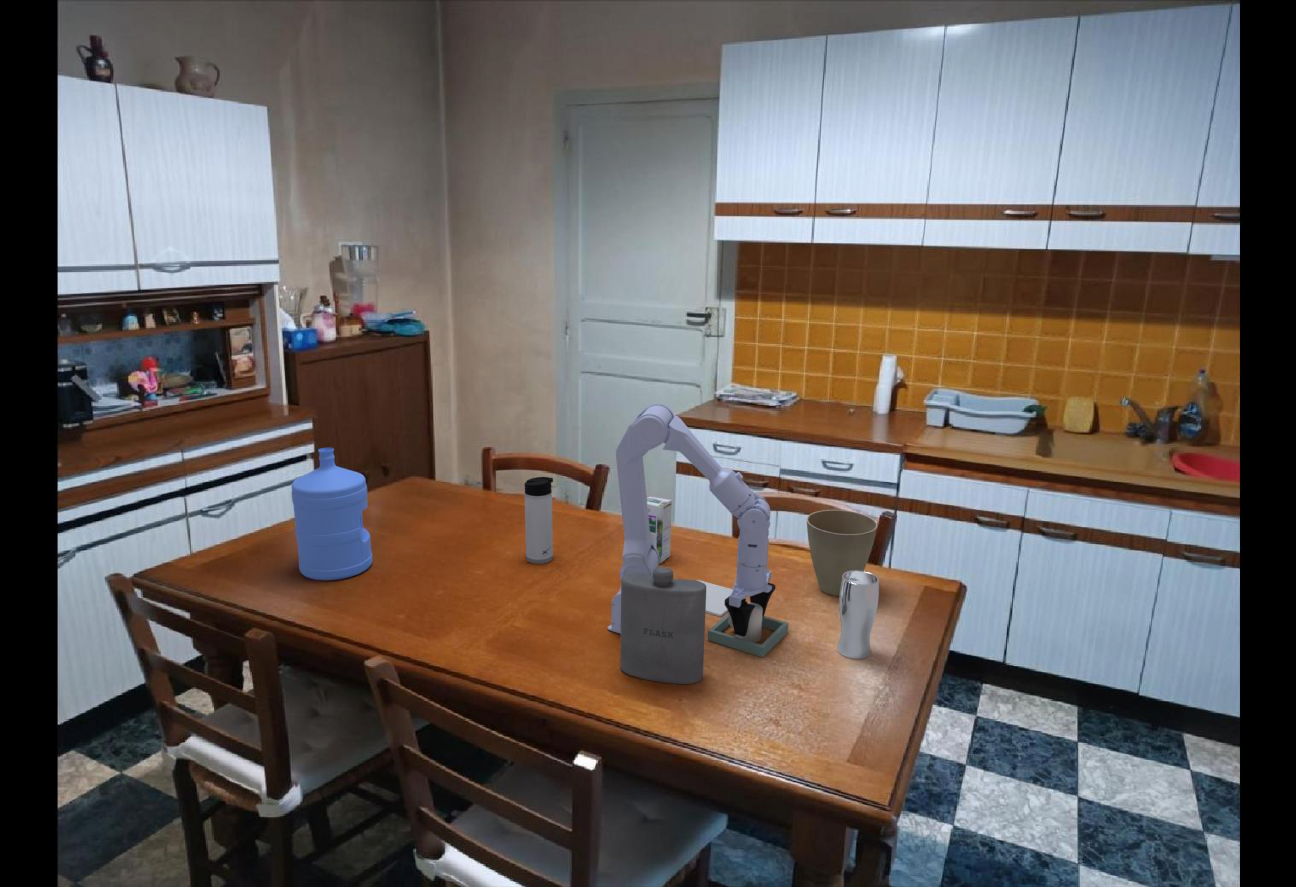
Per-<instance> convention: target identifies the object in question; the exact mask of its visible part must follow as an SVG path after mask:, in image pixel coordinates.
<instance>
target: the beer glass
mask: <svg viewBox="0 0 1296 887" xmlns="http://www.w3.org/2000/svg"><path fill="white" fill-rule="evenodd" d="M879 593H880V579H879V577H878V576H877V575H876V574H874V573H872V572H868V571H865V570H864V571H859V570H853V571H847V572H845V573H844V574H843V575H842V582H841V587H840V595H839V596H838V597H839V598H838V599H839V600H838V607H839V608H838V609H839V619H840V635H839V640H838V644H837V652H838V653H839V654H840V655H841V656H843V657H845V658H848V659H853V660H864V659H866V658H869V657H870V655H871V653H872V652H871V633H872V629H873V625H874V622H875V620H876V615H877V612H878V605H879V597H880V596H879V595H880V594H879Z"/></svg>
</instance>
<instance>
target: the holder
mask: <svg viewBox="0 0 1296 887" xmlns="http://www.w3.org/2000/svg"><path fill="white" fill-rule="evenodd" d="M728 616H729V612H727V614H725V615H723V616H722V618H721V619H719V621H717V622H716V623H715V624H714V625H712V627H710V628H709V629H708V630H707V641H709V642H712V643H715V644H718V645H722V646H725V647H729V648H732V649H735V650H738V651H741V652H744V653H747V654H750V655H754V656H757V657H760V658H764V657H765V656H767V655H768V653H769V652H770V651H771V650H772V649H773V648H774V647H775V646H776V645H777V644H778V643H779V642H780V641H781V640H782V639H783V638H784V637H785V635H787V634H788V632H789V622H786V621H782V620H780V619H776V618H772V617H769V616H766V615H764V617H763V620H762V628H765V629H768V630H772V631H774V632H772V634H771V635H770V636H769V637H767V639H766V640H765V641H764V642H763V643H762V644H761V643H757V642H751V641H747V640H744V639H741V638H738V637H735V636H734V635H730V634H727V633H724V631H725V630H726V629H727V628H728V627H730V624H728Z"/></svg>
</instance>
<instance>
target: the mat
mask: <svg viewBox="0 0 1296 887" xmlns="http://www.w3.org/2000/svg"><path fill="white" fill-rule="evenodd" d="M697 581H700V582H702V583H704V584H705V585H706V612H705V614H709V615H713V616H716V617H719V618H721V617H722V618H723V617H724V616H725V615H726V613H728V610H727V608H726V606H725V599H726V598H728V597H729V596H730V595H731V594H732V591H733V588H728V587H725V586H722V585H718V584H714V583H710V582H706V581H703V580H701V579H697Z"/></svg>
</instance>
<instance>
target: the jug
mask: <svg viewBox="0 0 1296 887" xmlns="http://www.w3.org/2000/svg"><path fill="white" fill-rule="evenodd" d="M747 603H748V604H751V605H755V608H754V609H753V611H752V613H751V616H750V619H749V624H748V630H747V633H746V636H745V637H743V636H740V635H736V634H735V633H734V635H735V636H734V637H738V638H741V639H744V640H747V641H751V642H754V643H757V642H759V641H760V640H761V639H762V630H763V629H762V628H763V627H762V614H763V608H762V607H761V606H760V605H759V604H756V603H752V602H750V601H747ZM728 624H730V625H729V627H733V624H732V620H731V616H730V614H729V616H728Z"/></svg>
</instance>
